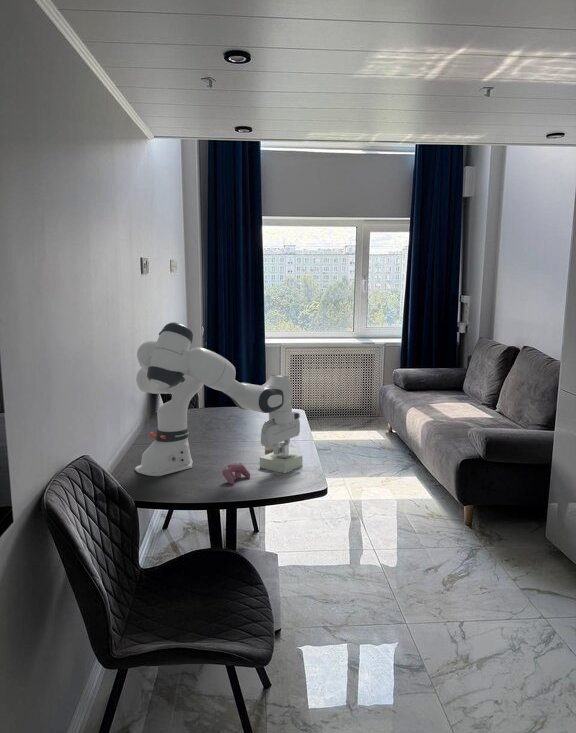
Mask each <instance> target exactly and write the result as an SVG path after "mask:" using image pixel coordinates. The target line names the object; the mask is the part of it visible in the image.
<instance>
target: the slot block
mask: <svg viewBox="0 0 576 733" xmlns="http://www.w3.org/2000/svg"><path fill="white" fill-rule="evenodd" d="M302 466H303V455H302V454H296V453H292V452H289V458H288V459H286V460H285V459H280V458H276V457H273V452H272V453H269V454H267V455H265V454H264V455H262V456H260V457H259V468H260V467H261V469H264V468H265V470H269V471H273V472H277V471H278V473H281V472H283V473H282V474H287V473H289V472H291V471H294V470H295V468H296V469H297V468H300V467H302ZM293 469H294V470H293ZM288 471H289V472H288ZM286 472H287V473H286Z"/></svg>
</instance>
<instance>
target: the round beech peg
mask: <svg viewBox="0 0 576 733" xmlns="http://www.w3.org/2000/svg"><path fill="white" fill-rule="evenodd" d="M272 452H273V448H272V446H269V447H267V446H264V455H267V454H269V453H272Z"/></svg>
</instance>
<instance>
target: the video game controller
mask: <svg viewBox="0 0 576 733" xmlns="http://www.w3.org/2000/svg"><path fill="white" fill-rule="evenodd" d="M221 473H222V476H223V477H224V479H225V480H226V481H227V482H228V483H229V484H230V485H232V486H233V485H234V484H235V480H236V479H237V480H238V479H240V478H241V477H242V476H244V477H245V478H247V479H250V478H251V473H250V471H249V470H248V469H247V468H246V467H245V465H244V464H243V463H241V462H234V463H230V464H228V465H227V466H225V467H224V468H223V469H222V472H221Z"/></svg>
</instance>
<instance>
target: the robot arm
mask: <svg viewBox="0 0 576 733" xmlns="http://www.w3.org/2000/svg"><path fill="white" fill-rule="evenodd" d="M157 338H158V339H157V341H155V340H148V341H144V342H143V343H142V344H140V346H139V347H138V349H137V352H136V356H137V361H138V364H139V366H140V367H141V368H139V370H138V372H137V374H136V384H137V387H138V389H139V390H140V391H141V392H144V393H148V394H154V395H155V394H156V395H157V394H160V395H161V394H165V395H167V394H171V399H170V400H168V401H166V402H165V403H162V405H160V406H159V407H158V409H157V413H156V414H157V429H156V432H154V431H150V432H149V438H154V441H153V442H151V444H150V445H149V446H148V447H147V448H146V450H145V451H144V452H143V453H142V455H141V461H140V462H141V464H139V465H137V466H136V467H135V472H136V473H139V474H142V475H144V476H145V475H146V476H148V477H149V476H150V477H151V476H152V477H162V476H165V475H169V474H173V473H177V472H181V471H184V470H188V469H192V468H193V463H194V462H193V459H192V455H191V450H190V444H189V439H188V438H189V436H190V435H189V433H190V432H189V427H188V407H189V404H190V402H191V400H192V399H193V397H194V396H195V395H196V394H197V393H198V392H200V391H201V389H203V386H204V385H205V386H206V387H208V388H211V389H213V390H216V391H220V392H222V393H223V394H225V395H226V396H228V397H229V398H230V399H231V400H232V402H233V403H234V404H235V406H236V407H237V408H239V409H240V410H248V411H253V412H257V413H262V414H268V420H266V421H265V422H264V423H263V424H262V426H261V427H262V428H261V431H260V445H261V446H263V447H265V446H267V447H269V446H272V448H273V450H274V454H275V455H277V454H279V453H280V452H279V451H280V449H278V448H277V446H278V443H285V444H289V445H290V443H291V439H293V438H296V437H298V436H299V435H300V432H301V421H300V418H301V414H300V413H301V412H296V411H293V407H292V398H293V393H292V392H293V391H292V390H293V389H292V382H291V379H290V377H289V376H287V375H282V374H274V373H273V374H270V375H269V378H268V379H267V381H265V383H264V384H262V385H261V384H260V385H259V384H252V383H249V382H244V381H243V382H239V381H238V380H236V374H237V372H236V367H235V366H234V365H233V363H231V362H230V361H229V360H228V359H227V358H225V357H224V356H222V355H221V354H218V352H217V353H216V352H215V351H212V350H210V349H207V348H204V347H200V346H197V347H194V348H191V344H192V343H193V338H194V333H193V332H192V330H191V329H190V328H189V327H188V326H186V325H184V324H183V323H179V322H175V321H174V322H169V323H167V324H165V325H164V327H162V329H161V331H159V333H158V337H157ZM190 348H191V349H190Z"/></svg>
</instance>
